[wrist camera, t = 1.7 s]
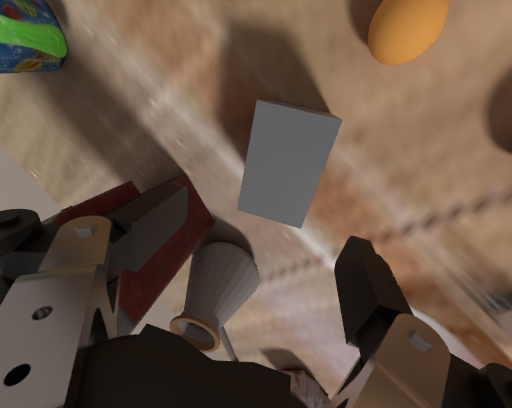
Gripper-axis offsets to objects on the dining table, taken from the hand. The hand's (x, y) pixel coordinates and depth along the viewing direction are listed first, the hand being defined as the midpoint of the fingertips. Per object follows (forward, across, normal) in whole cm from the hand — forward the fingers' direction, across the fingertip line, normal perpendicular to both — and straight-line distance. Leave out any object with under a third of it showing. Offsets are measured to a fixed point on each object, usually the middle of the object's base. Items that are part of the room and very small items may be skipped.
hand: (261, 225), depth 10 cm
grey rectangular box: (+17, 0, 0) cm, 17 cm away
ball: (+14, -6, -12) cm, 19 cm away
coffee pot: (+17, +1, +24) cm, 29 cm away
